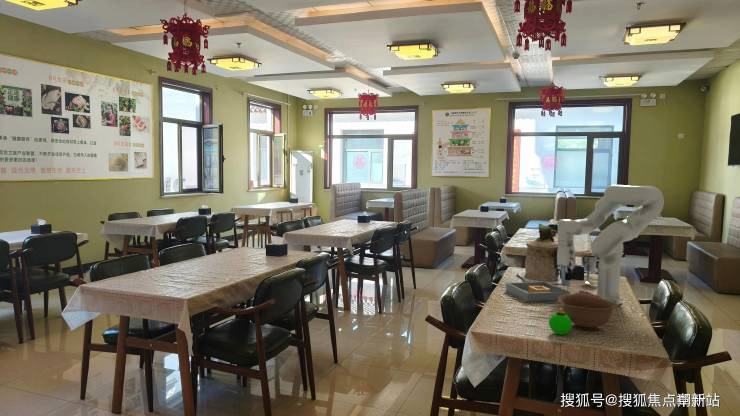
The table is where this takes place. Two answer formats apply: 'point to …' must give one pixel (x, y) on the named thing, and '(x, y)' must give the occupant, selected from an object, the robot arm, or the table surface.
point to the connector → (563, 281)
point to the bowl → (587, 310)
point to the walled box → (522, 293)
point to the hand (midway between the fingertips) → (565, 279)
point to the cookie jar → (542, 258)
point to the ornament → (560, 323)
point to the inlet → (538, 289)
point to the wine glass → (588, 265)
